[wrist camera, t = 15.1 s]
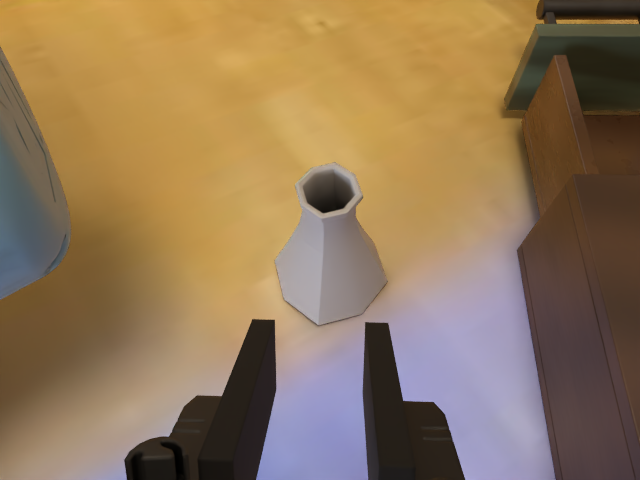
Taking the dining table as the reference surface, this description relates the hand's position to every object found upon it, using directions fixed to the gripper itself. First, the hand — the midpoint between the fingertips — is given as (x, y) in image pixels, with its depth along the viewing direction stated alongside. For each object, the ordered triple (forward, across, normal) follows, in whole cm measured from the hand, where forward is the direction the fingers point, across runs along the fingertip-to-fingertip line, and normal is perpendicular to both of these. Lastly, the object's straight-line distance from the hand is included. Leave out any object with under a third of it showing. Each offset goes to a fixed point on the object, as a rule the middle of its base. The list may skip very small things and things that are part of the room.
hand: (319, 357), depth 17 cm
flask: (+16, 0, +3) cm, 16 cm away
